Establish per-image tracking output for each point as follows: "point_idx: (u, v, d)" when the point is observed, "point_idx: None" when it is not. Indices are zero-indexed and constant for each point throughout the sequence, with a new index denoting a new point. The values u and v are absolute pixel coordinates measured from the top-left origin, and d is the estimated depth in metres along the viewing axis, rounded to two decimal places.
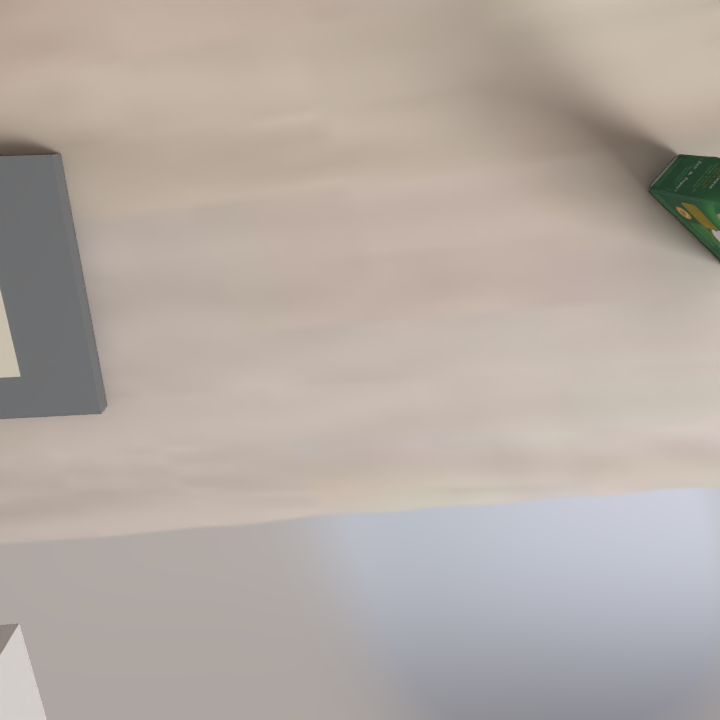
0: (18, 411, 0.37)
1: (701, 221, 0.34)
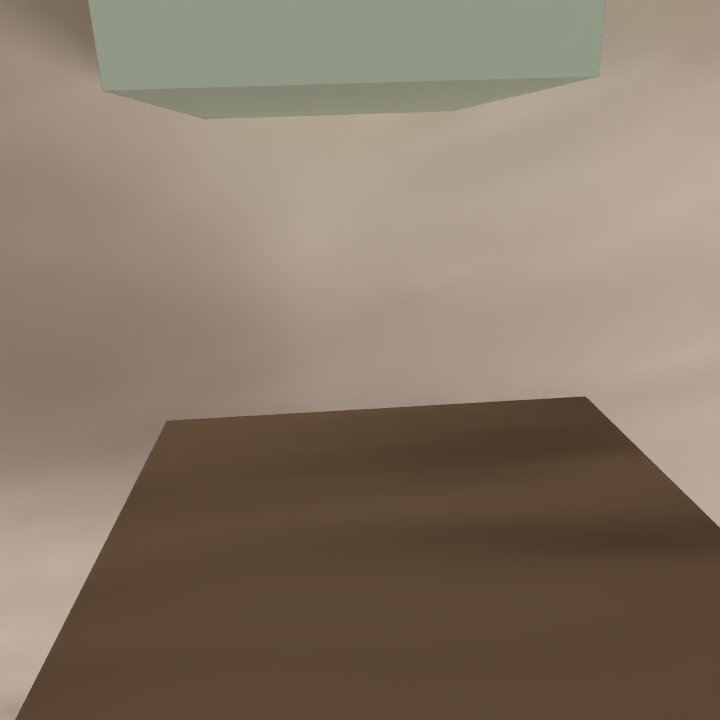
0: None
1: None
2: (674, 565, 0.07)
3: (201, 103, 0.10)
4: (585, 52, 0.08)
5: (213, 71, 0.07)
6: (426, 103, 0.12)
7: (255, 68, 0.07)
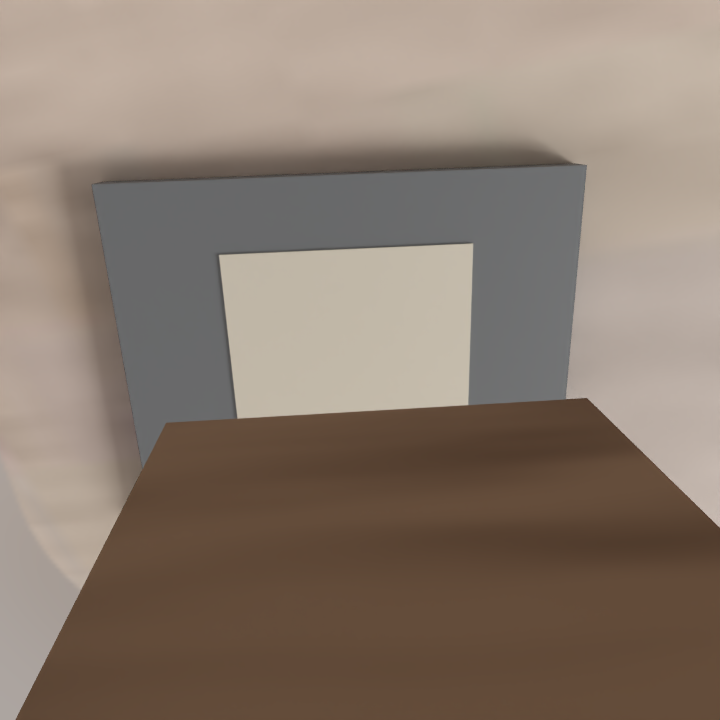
0: None
1: None
2: (678, 569, 0.07)
3: None
4: None
5: None
6: None
7: None
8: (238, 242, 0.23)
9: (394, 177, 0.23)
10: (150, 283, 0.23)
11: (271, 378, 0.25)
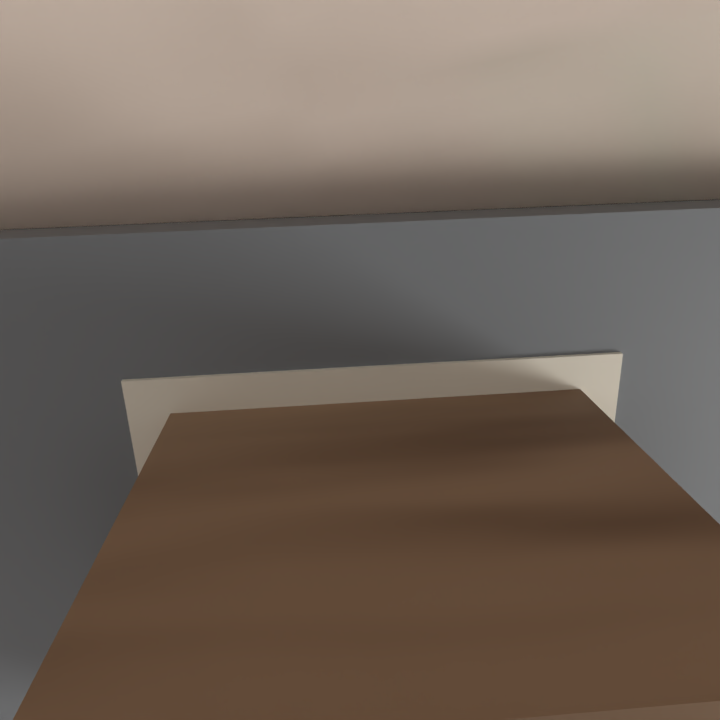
0: None
1: None
2: (662, 547, 0.08)
3: None
4: None
5: None
6: None
7: None
8: (160, 356, 0.12)
9: (474, 227, 0.11)
10: None
11: None
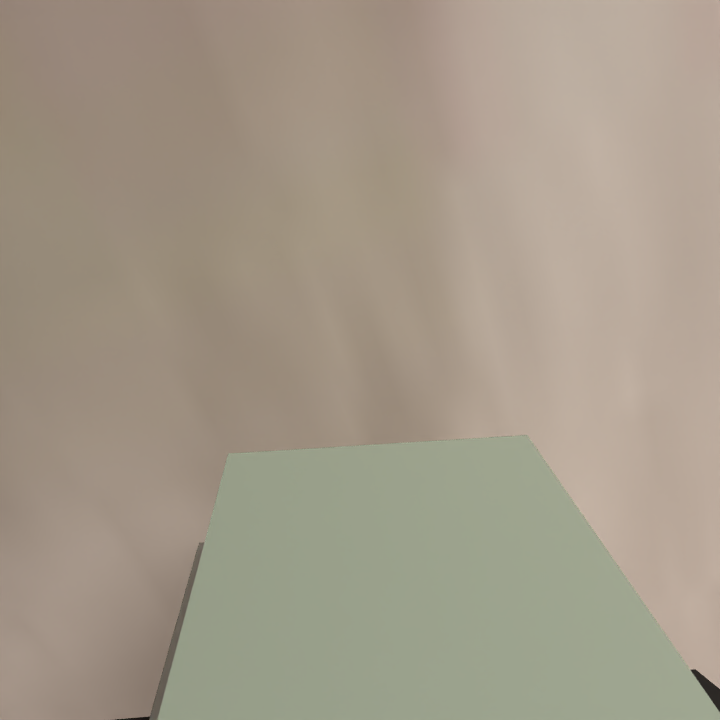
0: None
1: None
2: None
3: None
4: None
5: None
6: None
7: None
8: None
9: None
10: None
11: None
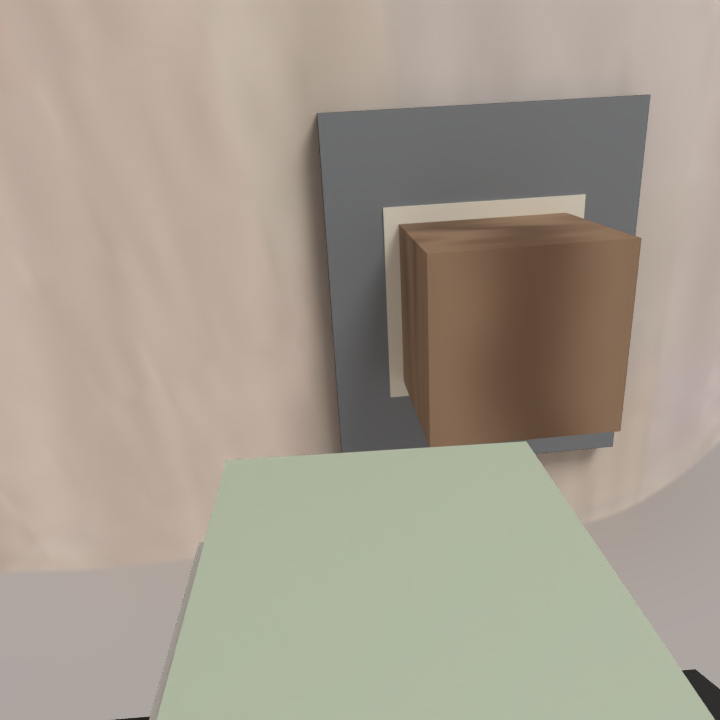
0: (629, 204, 0.29)
1: None
2: (417, 267, 0.25)
3: None
4: None
5: None
6: None
7: None
8: (382, 383, 0.32)
9: (332, 274, 0.29)
10: (410, 440, 0.33)
11: None
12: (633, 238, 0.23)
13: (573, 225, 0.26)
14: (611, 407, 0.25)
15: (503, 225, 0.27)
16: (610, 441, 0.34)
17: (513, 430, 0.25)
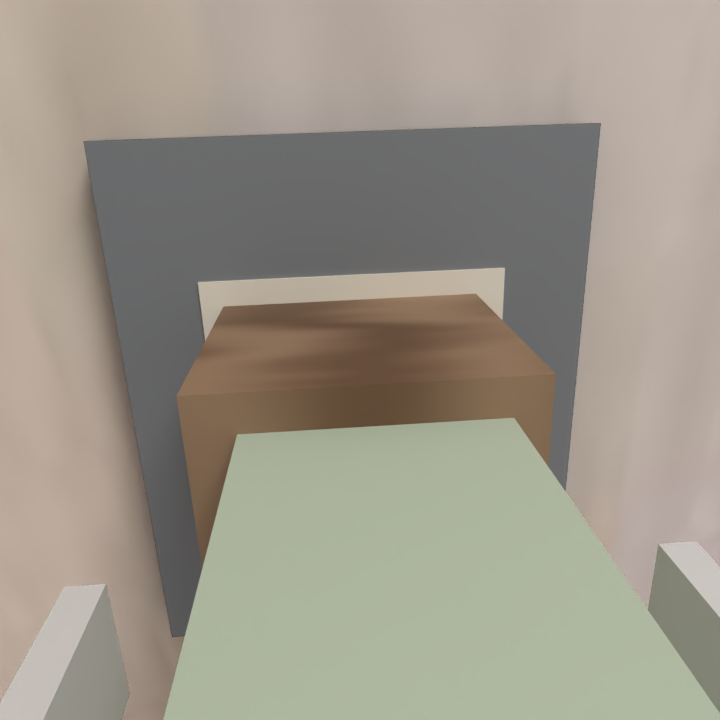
0: (572, 282, 0.20)
1: None
2: None
3: None
4: None
5: None
6: None
7: None
8: None
9: (131, 375, 0.20)
10: None
11: None
12: (542, 373, 0.13)
13: (467, 327, 0.16)
14: None
15: (364, 320, 0.17)
16: None
17: None
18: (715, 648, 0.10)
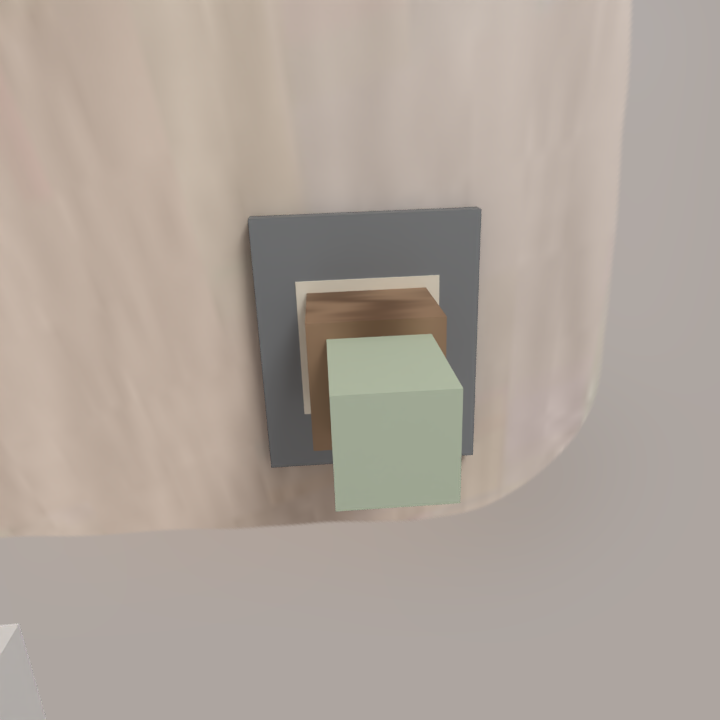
0: (472, 282, 0.42)
1: None
2: None
3: None
4: (457, 392, 0.28)
5: (457, 479, 0.29)
6: None
7: (457, 470, 0.29)
8: (298, 404, 0.44)
9: (260, 326, 0.42)
10: None
11: None
12: (442, 316, 0.35)
13: (418, 301, 0.38)
14: None
15: (373, 298, 0.39)
16: (470, 450, 0.46)
17: None
18: None
